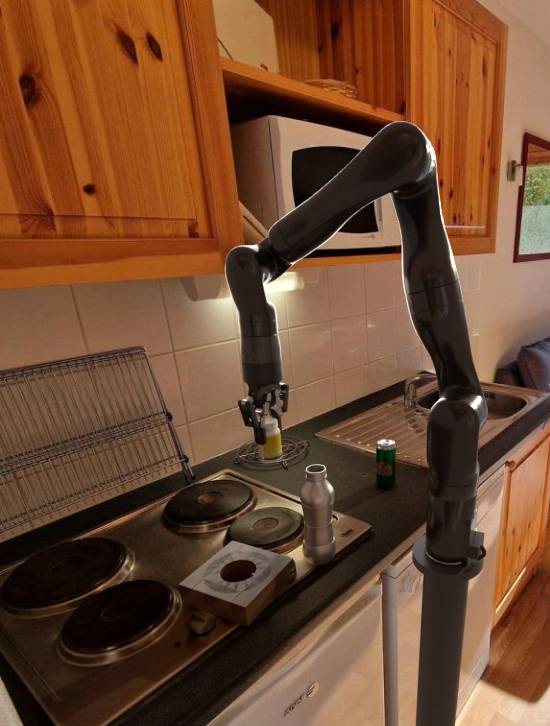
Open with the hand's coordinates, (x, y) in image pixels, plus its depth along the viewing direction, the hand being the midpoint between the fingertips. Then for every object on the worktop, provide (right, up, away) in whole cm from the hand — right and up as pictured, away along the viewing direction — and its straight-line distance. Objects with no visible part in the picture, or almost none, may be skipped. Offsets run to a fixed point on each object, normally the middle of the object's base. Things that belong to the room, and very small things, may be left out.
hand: (269, 438), depth 98 cm
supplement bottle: (0, -4, +2) cm, 5 cm away
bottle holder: (-2, -27, -11) cm, 29 cm away
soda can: (+24, -12, +26) cm, 37 cm away
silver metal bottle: (+11, -24, -3) cm, 26 cm away
